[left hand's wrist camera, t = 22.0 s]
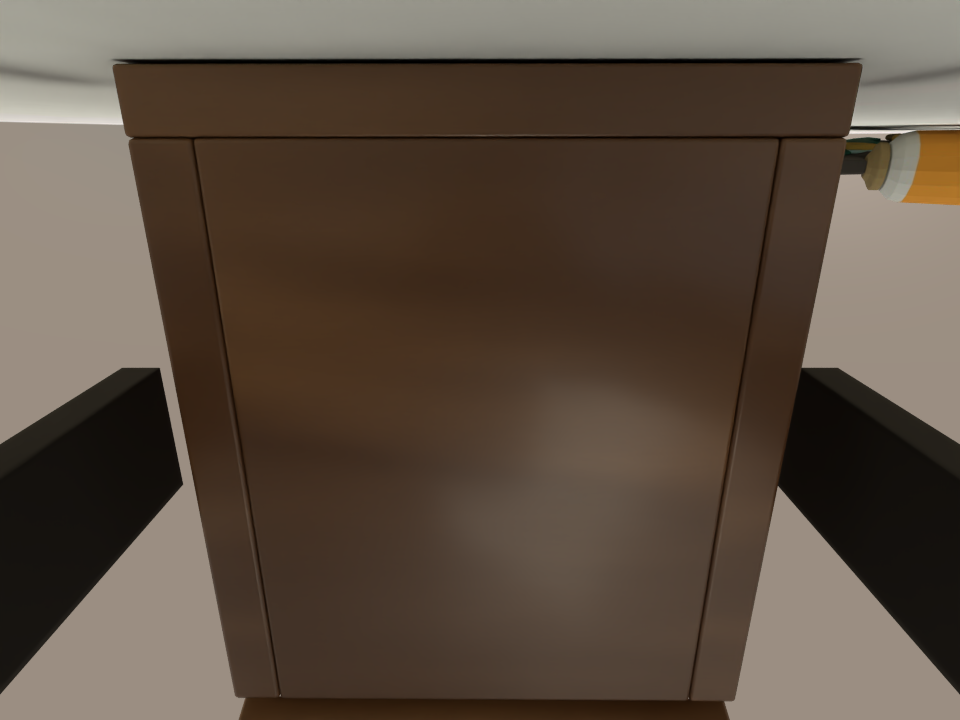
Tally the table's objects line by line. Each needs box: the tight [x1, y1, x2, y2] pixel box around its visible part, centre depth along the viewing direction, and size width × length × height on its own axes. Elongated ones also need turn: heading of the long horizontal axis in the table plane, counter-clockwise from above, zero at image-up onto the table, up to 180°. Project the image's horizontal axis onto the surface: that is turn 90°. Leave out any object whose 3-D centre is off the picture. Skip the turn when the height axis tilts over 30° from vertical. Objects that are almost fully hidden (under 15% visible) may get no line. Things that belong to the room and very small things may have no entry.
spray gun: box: [840, 130, 960, 205], centre depth 40 cm, size 4×17×15 cm
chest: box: [113, 63, 862, 701], centre depth 17 cm, size 18×9×11 cm, turn 0°
